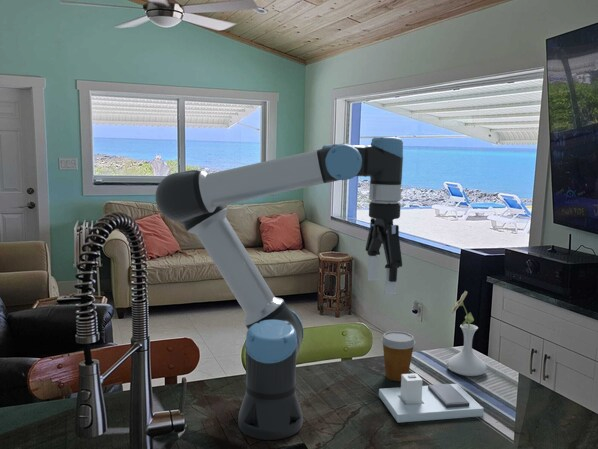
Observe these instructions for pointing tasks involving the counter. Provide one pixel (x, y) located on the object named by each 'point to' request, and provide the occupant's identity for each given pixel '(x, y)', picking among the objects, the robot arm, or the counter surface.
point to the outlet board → (427, 406)
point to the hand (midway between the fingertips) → (381, 287)
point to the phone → (448, 395)
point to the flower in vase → (466, 348)
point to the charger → (411, 389)
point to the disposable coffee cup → (397, 353)
